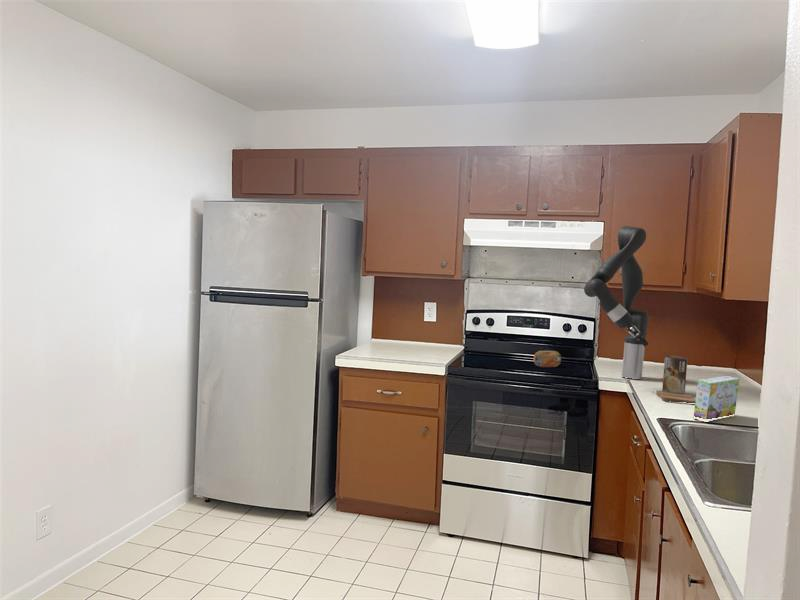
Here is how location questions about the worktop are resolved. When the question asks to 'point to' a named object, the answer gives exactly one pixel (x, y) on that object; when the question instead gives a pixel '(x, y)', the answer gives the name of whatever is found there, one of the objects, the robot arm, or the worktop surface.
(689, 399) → the board
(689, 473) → the worktop surface
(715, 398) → the snack box
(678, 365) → the coffee box
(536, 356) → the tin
